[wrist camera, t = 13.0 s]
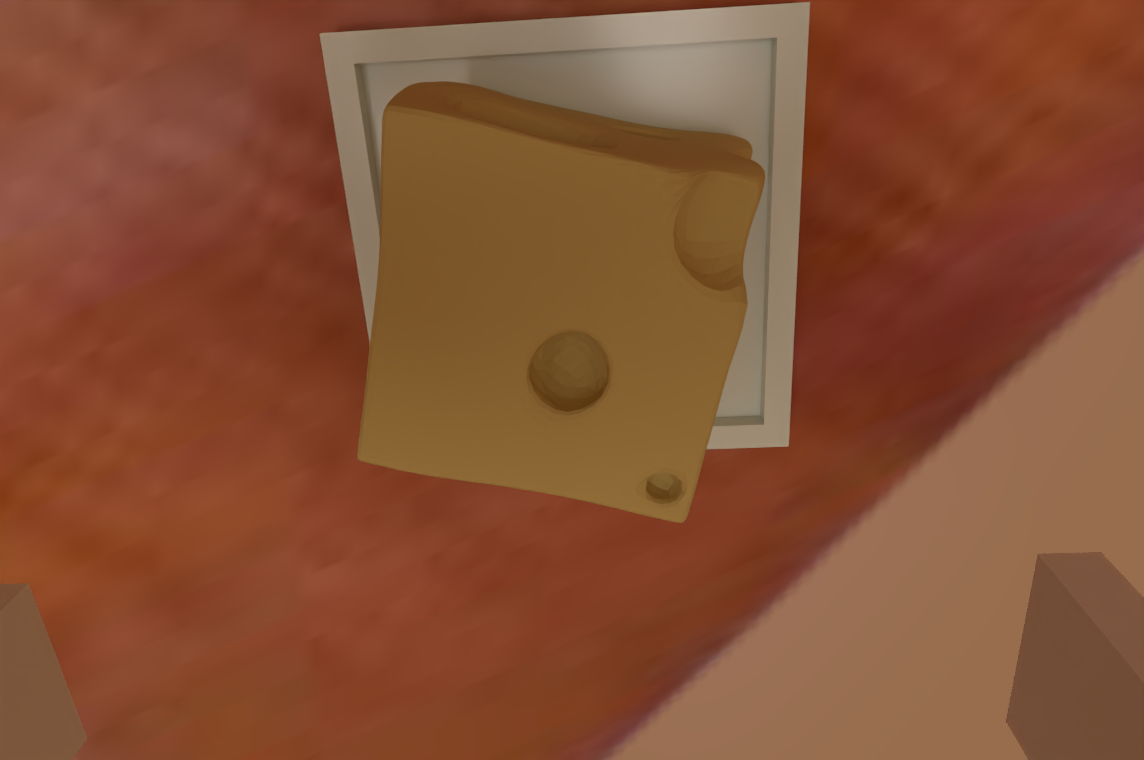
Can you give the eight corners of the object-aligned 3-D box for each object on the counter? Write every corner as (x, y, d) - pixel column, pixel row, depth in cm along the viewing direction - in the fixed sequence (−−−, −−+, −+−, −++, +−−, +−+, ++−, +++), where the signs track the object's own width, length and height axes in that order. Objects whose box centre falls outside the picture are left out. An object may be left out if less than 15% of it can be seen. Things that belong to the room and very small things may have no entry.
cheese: (741, 132, 29) (806, 181, 20) (666, 406, 33) (690, 551, 24) (447, 67, 29) (374, 87, 19) (408, 354, 33) (332, 482, 24)
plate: (335, 33, 29) (319, 33, 28) (797, 3, 28) (810, 1, 27) (398, 440, 35) (388, 460, 34) (779, 426, 35) (788, 446, 33)
